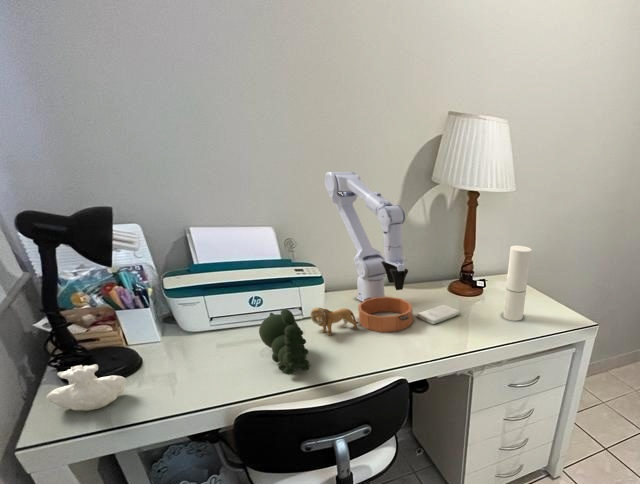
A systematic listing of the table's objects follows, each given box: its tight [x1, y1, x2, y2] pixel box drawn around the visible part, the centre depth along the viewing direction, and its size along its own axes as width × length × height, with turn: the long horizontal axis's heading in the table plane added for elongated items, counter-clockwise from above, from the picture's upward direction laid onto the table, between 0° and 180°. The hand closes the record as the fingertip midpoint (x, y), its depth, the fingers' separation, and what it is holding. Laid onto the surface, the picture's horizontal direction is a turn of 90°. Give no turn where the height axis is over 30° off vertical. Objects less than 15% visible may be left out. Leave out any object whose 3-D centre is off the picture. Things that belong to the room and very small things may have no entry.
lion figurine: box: [310, 307, 359, 336], centre depth 125 cm, size 15×5×9 cm, turn 142°
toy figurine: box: [258, 308, 311, 376], centre depth 105 cm, size 9×19×25 cm
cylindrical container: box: [502, 245, 532, 322], centre depth 145 cm, size 7×7×25 cm
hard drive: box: [416, 304, 460, 325], centre depth 144 cm, size 2×8×12 cm
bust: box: [46, 363, 127, 411], centre depth 85 cm, size 12×8×11 cm
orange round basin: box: [357, 296, 414, 333], centre depth 136 cm, size 20×17×5 cm
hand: (395, 285), depth 139 cm, fingers open, 7 cm apart
